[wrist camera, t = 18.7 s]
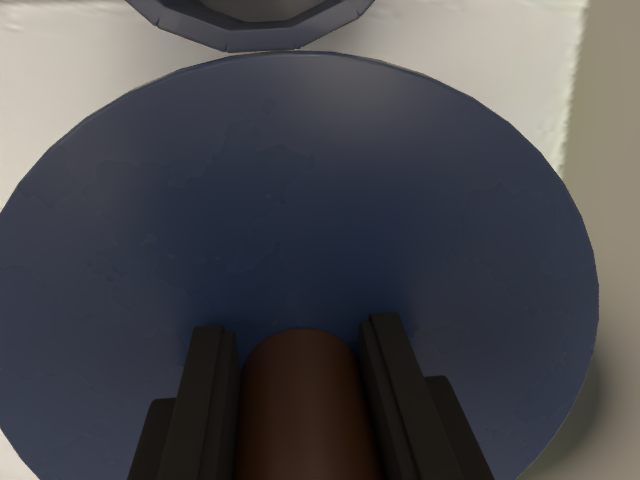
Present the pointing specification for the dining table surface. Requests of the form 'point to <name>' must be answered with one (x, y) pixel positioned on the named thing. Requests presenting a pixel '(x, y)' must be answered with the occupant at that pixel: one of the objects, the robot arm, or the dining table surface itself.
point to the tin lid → (289, 266)
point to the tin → (251, 21)
